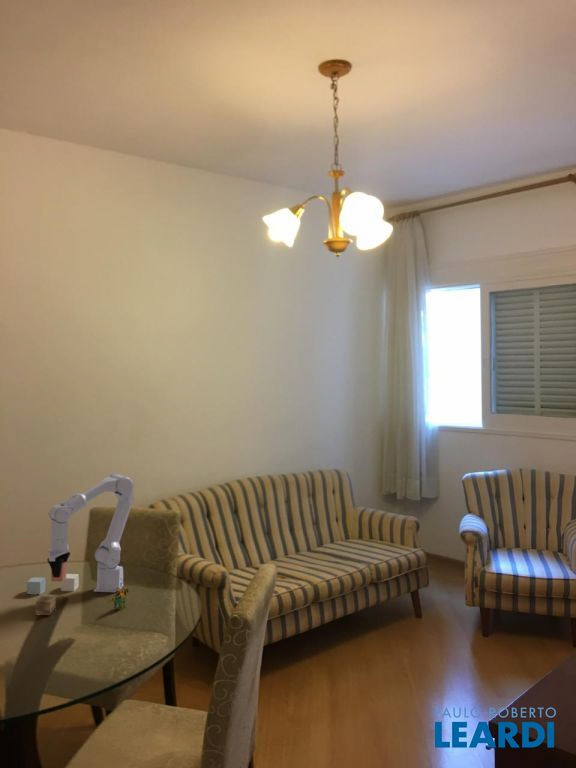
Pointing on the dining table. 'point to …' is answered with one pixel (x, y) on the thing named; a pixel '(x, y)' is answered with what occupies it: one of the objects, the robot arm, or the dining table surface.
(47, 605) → the walnut block
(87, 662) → the dining table surface
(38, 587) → the blue-grey block
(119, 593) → the figurine
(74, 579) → the pale grey block
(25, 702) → the dining table surface
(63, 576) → the brick-red block
